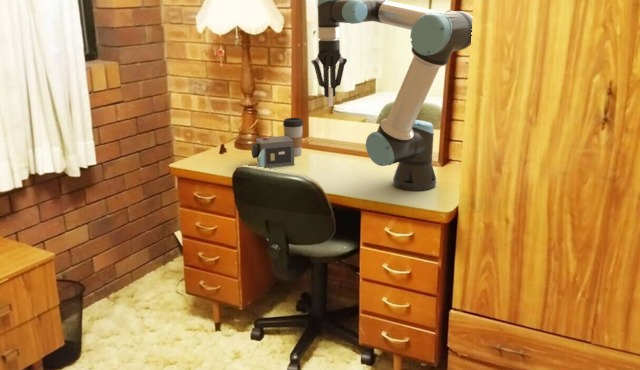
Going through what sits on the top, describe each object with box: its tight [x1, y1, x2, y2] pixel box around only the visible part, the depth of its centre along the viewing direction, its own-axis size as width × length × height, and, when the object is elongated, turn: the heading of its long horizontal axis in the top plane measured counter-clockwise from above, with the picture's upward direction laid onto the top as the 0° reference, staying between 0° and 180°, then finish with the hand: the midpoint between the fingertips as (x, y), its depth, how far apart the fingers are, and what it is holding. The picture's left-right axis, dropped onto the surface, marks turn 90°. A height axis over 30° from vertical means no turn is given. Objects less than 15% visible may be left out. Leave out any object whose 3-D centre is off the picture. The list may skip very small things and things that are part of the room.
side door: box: [256, 148, 265, 168], centre depth 237 cm, size 12×2×7 cm, turn 178°
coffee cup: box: [282, 117, 304, 158], centre depth 261 cm, size 8×8×15 cm
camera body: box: [250, 135, 295, 169], centre depth 248 cm, size 9×16×11 cm, turn 108°
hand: (329, 105), depth 228 cm, fingers closed
